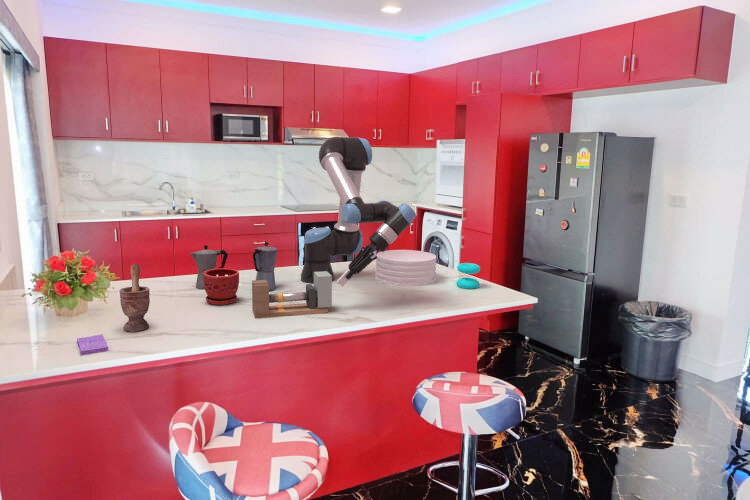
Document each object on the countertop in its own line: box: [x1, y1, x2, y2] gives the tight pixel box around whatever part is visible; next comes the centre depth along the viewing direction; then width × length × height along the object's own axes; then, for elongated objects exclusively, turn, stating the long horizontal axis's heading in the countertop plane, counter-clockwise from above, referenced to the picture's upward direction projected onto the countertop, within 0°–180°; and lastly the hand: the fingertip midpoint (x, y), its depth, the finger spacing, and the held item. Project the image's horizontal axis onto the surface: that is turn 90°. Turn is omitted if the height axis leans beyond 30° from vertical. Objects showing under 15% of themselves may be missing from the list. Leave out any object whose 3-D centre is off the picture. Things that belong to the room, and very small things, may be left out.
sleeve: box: [313, 271, 333, 308], centre depth 191 cm, size 8×5×12 cm, turn 18°
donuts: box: [455, 262, 481, 290], centre depth 231 cm, size 10×10×10 cm
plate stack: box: [374, 249, 437, 287], centre depth 242 cm, size 28×28×12 cm
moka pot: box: [252, 241, 279, 292], centre depth 217 cm, size 10×15×20 cm, turn 161°
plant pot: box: [203, 267, 240, 306], centre depth 198 cm, size 13×13×12 cm
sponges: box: [76, 333, 109, 356], centre depth 152 cm, size 7×13×2 cm, turn 34°
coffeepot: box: [189, 244, 229, 290], centre depth 220 cm, size 15×9×18 cm, turn 113°
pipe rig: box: [251, 279, 329, 319], centre depth 188 cm, size 9×26×12 cm, turn 108°
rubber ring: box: [305, 283, 315, 308], centre depth 190 cm, size 7×2×7 cm, turn 18°
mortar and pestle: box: [119, 263, 151, 333], centre depth 167 cm, size 12×9×20 cm
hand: (339, 284), depth 193 cm, fingers closed
